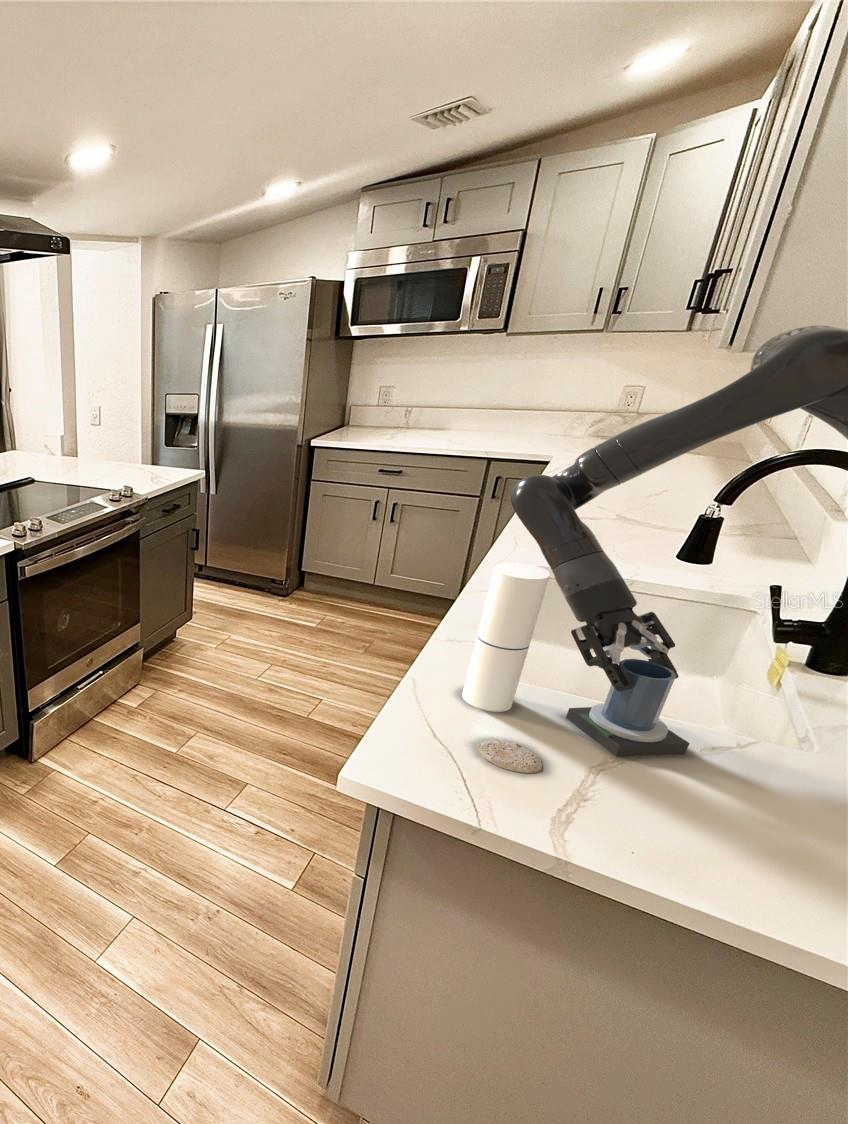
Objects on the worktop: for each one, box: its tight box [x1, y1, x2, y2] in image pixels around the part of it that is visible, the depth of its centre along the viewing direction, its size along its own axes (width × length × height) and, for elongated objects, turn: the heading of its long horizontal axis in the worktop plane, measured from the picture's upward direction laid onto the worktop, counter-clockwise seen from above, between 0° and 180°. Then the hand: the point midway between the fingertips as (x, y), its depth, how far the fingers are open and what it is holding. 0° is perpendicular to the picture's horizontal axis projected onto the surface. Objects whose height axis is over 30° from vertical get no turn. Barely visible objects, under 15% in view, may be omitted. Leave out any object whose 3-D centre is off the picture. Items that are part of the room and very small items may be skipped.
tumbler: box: [602, 658, 676, 731], centre depth 93 cm, size 6×6×9 cm
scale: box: [565, 702, 690, 758], centre depth 96 cm, size 10×10×4 cm
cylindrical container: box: [461, 562, 551, 713], centre depth 102 cm, size 7×7×25 cm
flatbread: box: [476, 740, 543, 774], centre depth 93 cm, size 8×8×1 cm
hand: (648, 684), depth 91 cm, fingers open, 8 cm apart
